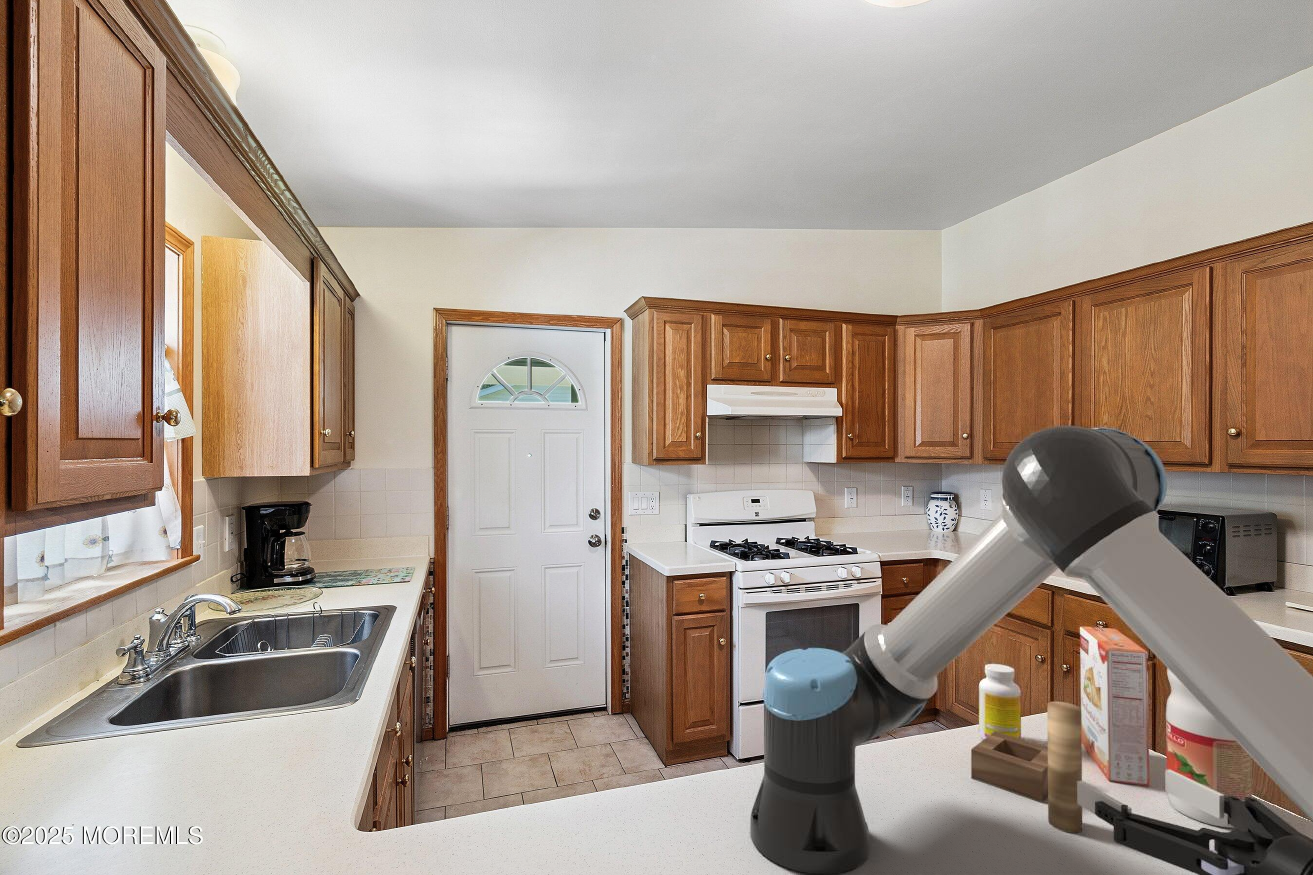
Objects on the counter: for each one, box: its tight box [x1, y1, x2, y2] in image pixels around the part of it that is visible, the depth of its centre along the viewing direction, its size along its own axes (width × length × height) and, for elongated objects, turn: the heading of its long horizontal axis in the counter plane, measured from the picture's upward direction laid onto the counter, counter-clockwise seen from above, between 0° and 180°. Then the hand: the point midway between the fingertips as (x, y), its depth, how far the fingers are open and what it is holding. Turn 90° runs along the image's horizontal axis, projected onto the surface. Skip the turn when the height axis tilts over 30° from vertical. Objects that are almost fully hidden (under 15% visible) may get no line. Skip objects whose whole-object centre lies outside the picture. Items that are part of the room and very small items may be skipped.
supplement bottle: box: [978, 663, 1022, 741], centre depth 118 cm, size 7×7×13 cm
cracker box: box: [1079, 626, 1151, 787], centre depth 110 cm, size 14×6×21 cm, turn 162°
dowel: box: [1046, 701, 1083, 834], centre depth 92 cm, size 4×4×16 cm
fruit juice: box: [1165, 667, 1253, 829], centre depth 96 cm, size 9×9×28 cm
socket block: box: [970, 731, 1048, 804], centre depth 104 cm, size 10×10×4 cm
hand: (1124, 785), depth 83 cm, fingers open, 13 cm apart
